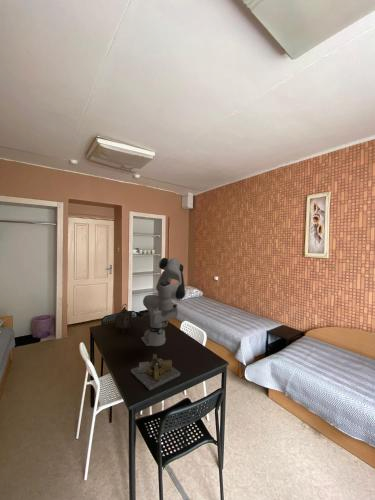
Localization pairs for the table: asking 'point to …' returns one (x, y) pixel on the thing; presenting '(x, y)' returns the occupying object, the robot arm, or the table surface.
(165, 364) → the gold propeller
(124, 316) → the tabletop clock
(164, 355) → the table surface
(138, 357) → the table surface
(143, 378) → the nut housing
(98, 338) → the table surface
